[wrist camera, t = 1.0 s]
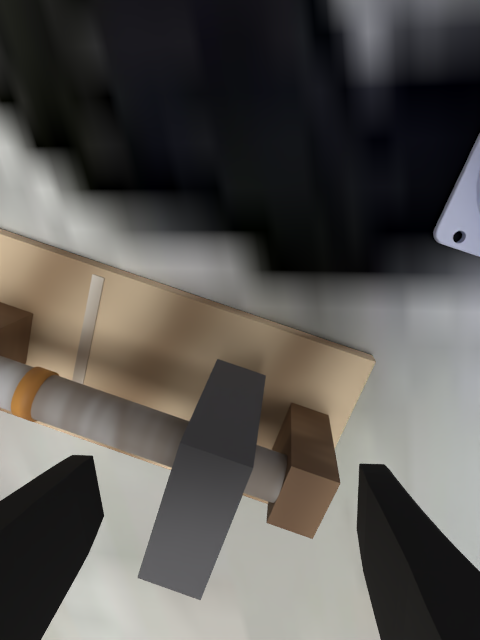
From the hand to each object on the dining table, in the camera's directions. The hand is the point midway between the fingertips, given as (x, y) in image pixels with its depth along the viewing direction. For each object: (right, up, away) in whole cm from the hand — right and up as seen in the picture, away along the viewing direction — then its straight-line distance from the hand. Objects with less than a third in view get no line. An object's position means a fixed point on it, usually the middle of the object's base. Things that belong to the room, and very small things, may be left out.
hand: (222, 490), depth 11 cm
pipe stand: (-4, +2, +11) cm, 12 cm away
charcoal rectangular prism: (0, 0, +9) cm, 9 cm away
